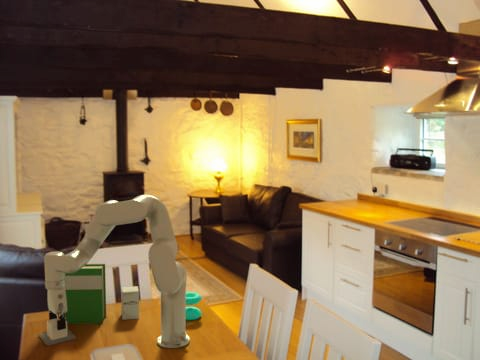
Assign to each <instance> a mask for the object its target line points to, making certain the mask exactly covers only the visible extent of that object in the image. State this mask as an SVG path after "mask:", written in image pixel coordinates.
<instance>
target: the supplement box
mask: <svg viewBox="0 0 480 360" xmlns="http://www.w3.org/2000/svg"><path fill="white" fill-rule="evenodd" d="M120 289H121V290H120V292H121V301H120V303H121V320H123V321H124V320H133V319H134V320H135V319H140V291H139V286H138V285H137V286H136V285H134V286H124V287H123V286H122V287H121V288H120Z"/></svg>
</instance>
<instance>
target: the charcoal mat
mask: <svg viewBox="0 0 480 360" xmlns="http://www.w3.org/2000/svg"><path fill="white" fill-rule="evenodd" d="M38 337H39V338H40V339H41V340H42V341H43V343H44V344H45V345H46V346H47V347H50V346H54V345H57V344H61V343H65V342H68V341H73V340H76V338H77V337H76V335H75V334H73V333H72V332H71V331H70V329H68V328H67V337H63V338H59V339H55V340H51V339H50V337H49V336H48V335H47V332H43V333H39V334H38Z"/></svg>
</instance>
